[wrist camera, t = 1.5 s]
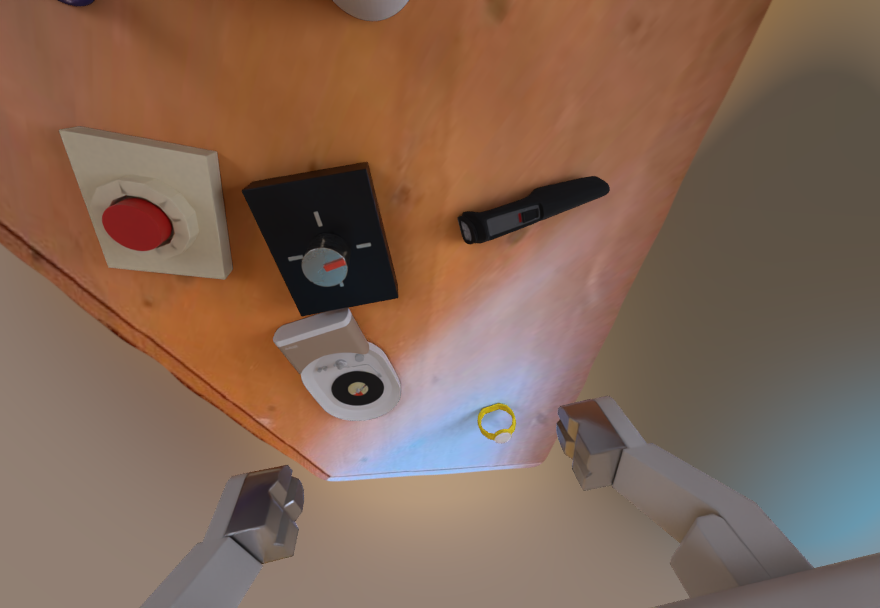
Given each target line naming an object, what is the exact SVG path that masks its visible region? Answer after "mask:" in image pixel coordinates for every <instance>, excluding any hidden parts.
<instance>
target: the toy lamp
mask: <svg viewBox="0 0 880 608" xmlns="http://www.w3.org/2000/svg"><path fill="white" fill-rule="evenodd" d="M58 1H60V2H62V3H65V4H68V5H72V6H86V5H89V4H91V3H92V2H93V1H94V0H58Z"/></svg>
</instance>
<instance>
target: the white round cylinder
mask: <svg viewBox="0 0 880 608" xmlns="http://www.w3.org/2000/svg"><path fill="white" fill-rule="evenodd" d="M408 1H409V0H333V2H334V3H335V4H336V5H337V6H339V7H340V8H341V9H342V10H344V11H345V12H346V13H348V14H350V15H352V16H354V17H356V18H358V19H362V20H366V21H380V20H384V19H387V18H389V17H391V16H393V15H395V14H396V13H398V12H399V11H400V10H401V9H402V8H403V7H404V6H405V5H406V4H407V2H408Z"/></svg>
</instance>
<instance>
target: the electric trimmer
mask: <svg viewBox="0 0 880 608" xmlns="http://www.w3.org/2000/svg"><path fill="white" fill-rule="evenodd" d="M609 190H610V187H609V185H608V184H607V183H606V182H605V181H603V180H602V179H600V178H598V177H596V176H591V177H585V178H580V179H575V180H571V181H566V182H561V183H557V184H552V185H548V186H544V187H540V188H537V189H535V190H534V191H533V192H532V193H531V194H530V195H529V196H527V197H525V198H523V199H521V200H518V201H515V202H512V203H509V204H506V205H503V206H500V207H497V208H494V209H491V210H488V211H484V212H470V211H467V212H463V214H462V216H459V217H458V222H459V226H460V230H461V234H462V237H463V240H464V241H465V242H466V243H467V244H473V243H483V242H486V241H489V240H493V239H495V238H498V237H500V236H503V235H506V234H508V233H511V232H513V231H516V230H519V229H521V228H524V227H526V226H529V225H531V224H534V223H536V222H538V221H541V220H544V219H547V218H549V217H552V216H554V215H557V214H559V213H562V212H564V211H567V210H569V209H572V208H575V207H577V206H580V205H582V204H585V203H587V202H590V201H592V200H595V199H597V198H600V197H602V196H605V195H606V194H607V193H608V192H609Z"/></svg>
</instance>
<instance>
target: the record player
mask: <svg viewBox="0 0 880 608" xmlns="http://www.w3.org/2000/svg"><path fill="white" fill-rule="evenodd" d="M273 342H274V343H275V344H276V345H277V346H278V348H279V349H280V350H281V352H282V353H283V354H284V355H285V357H286V358H287V359H288V360H289V361H290V363H291V364H292V365H293V366H294V368H295V369H296V370H297V371H298V373H299V374H301V378H302V382H303V384H304V385H305V387H306V388H307V390H308V391H309V392H310V393H311V395H312V396H313V397H314V398H315V400H316V401H317V402H318V403H319V404H320V405H321V407H322V408H323V409H324V410H325V411H326V412H327V413H329V414H331V415H332V416H334V417H337V418H340V419H344V420H350V421H365V420H371V419H375V418H378V417H380V416H383V415H385V414H386V413H388V412H390V411H391V410H392V409H393V408H394V407H395V406H396V405H397V403H398V402H399V400H400V396H401V386H400V381H399V378H398V376H397V374H396V372H395V370H394V369H393V367H392V365H391V363H390V361H389V360H388V358H387V356H386V355H385V353H384V352H383V351H382V350H381V349H380V348H379V347H377V346H376V345H374V344H372V343H370V342H368V341H367V340H366V338H365V336H364V335H363V333H362V331H361V329H360V328H359V326H358V324H357V322H356V321H355V319H354V317H353V315H352V313H351V312H350V310H349V308H343V309H337V310H332V311H327V312H324V313H321V314H317V315H314V316H311V317H308V318H305V319H302V320H299V321H295V322H292V323H289V324H286V325H283V326H281V327H280V328H278V330H277V331H276V332H275V334H274V337H273Z"/></svg>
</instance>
